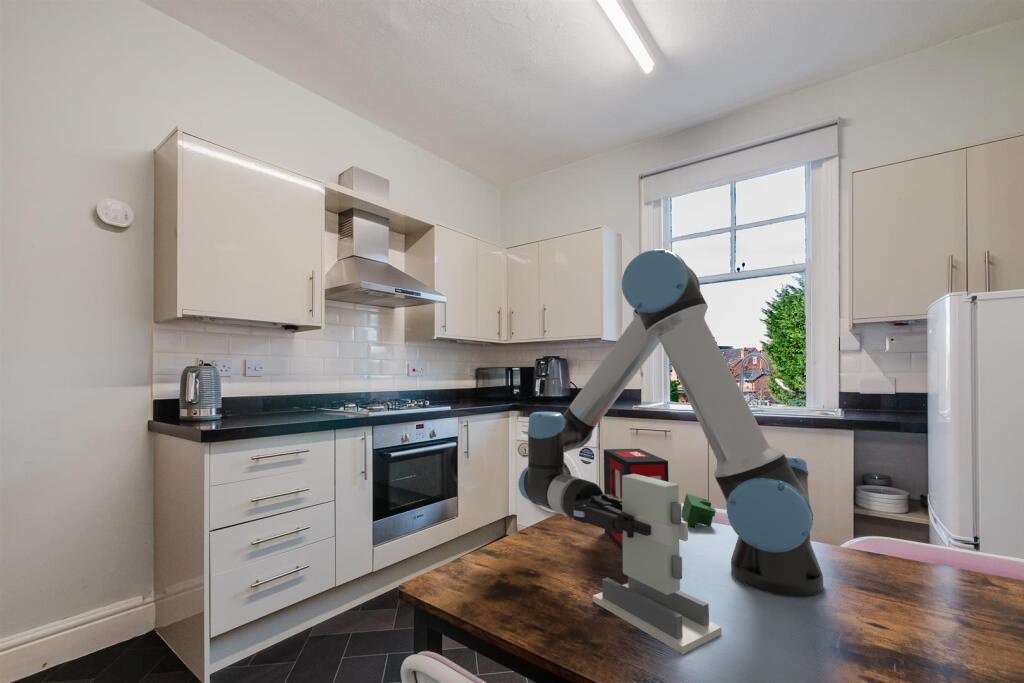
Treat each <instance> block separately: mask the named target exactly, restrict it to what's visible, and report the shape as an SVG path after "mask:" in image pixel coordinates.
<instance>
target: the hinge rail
mask: <svg viewBox="0 0 1024 683" xmlns="http://www.w3.org/2000/svg"><path fill="white" fill-rule="evenodd" d="M627 578H628V579H627V583H624V584H621V583H619V582H617V581H615V580H613V579H611V578H610V577H605V578H602V579H601V581H602V582H601V584H602V585H601V589H602V592H601V591H600V592H597V593H596V594H593V595H592V602H593V603H595V604H597V605H598V606H600V607H602V608H604V609H605V610H607V611H609V612H610V613H612V614H613V615H615V616H617V617H618V618H620V619H622V620H623V621H626V622H627V623H629V624H630V625H632V626H634V627H636V628H638V629H639V630H641V631H643V632H644V633H646V634H647V635H650V636H651V637H653V638H655V639H656V640H658V641H660V643H661V642H662V643H663V644H665V645H667V646H668V647H670V648H672V649H674V651H677V652H678V653H680V654H681V655H684V654H686V653H688V652H690V651H692V650H694V649H695V648H698V647H699V646H701V645H703V644H705V643H707V642H709V641H711V640H713V639H715V638H717V637H719V636H721V635H723V634H722V626H719V625H717V624H716V623H714V622H711V621H710V616H709V615H710V609H709V607H710V606H709V603H708V602H705V601H704V600H701V599H700V598H697V597H694V596H692V595H690V594H688V593H686V592H684V591H681V590H679V591H676V592H674V593H671V594H669V595H666V594H664V593H662V592H660V591H658V590H656V589H654V588H652V587H650V586H648V585H646V584H644V583H642V582H640V581H638V580H635V579H633V578H631V577H629V576H627Z"/></svg>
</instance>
